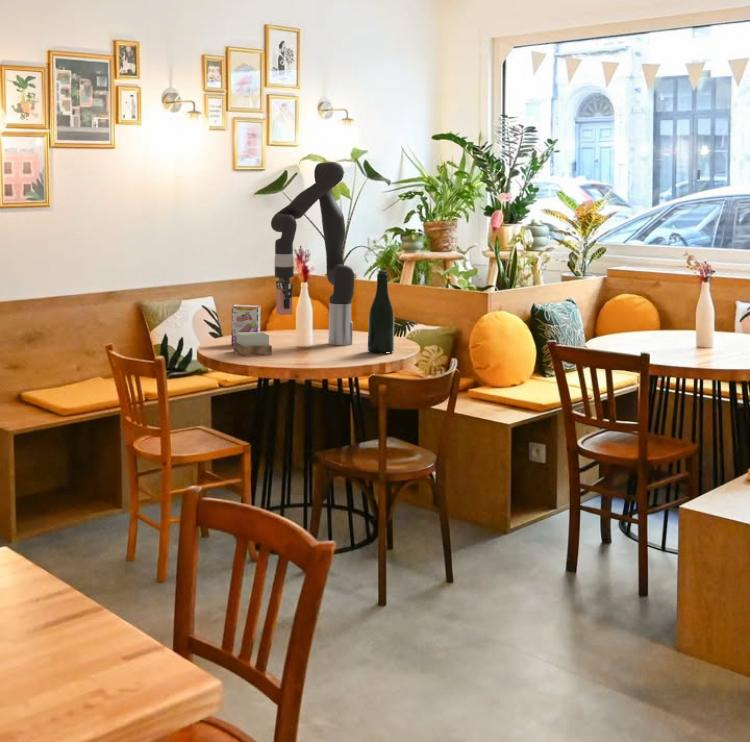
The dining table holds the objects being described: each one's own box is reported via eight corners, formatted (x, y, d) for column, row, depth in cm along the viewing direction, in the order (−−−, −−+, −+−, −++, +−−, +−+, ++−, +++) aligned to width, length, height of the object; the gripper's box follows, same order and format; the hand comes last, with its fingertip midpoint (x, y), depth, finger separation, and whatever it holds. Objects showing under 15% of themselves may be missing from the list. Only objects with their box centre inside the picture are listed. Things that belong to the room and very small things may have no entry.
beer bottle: (376, 355, 425) (379, 271, 419) (362, 351, 434) (364, 269, 428) (398, 353, 431) (401, 271, 425) (384, 349, 439) (386, 268, 434)
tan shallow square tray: (262, 351, 430) (262, 341, 430) (271, 356, 419) (271, 346, 419) (233, 352, 426) (233, 342, 425) (241, 357, 415) (241, 347, 414)
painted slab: (260, 341, 429) (260, 331, 428) (268, 345, 420) (269, 335, 419) (236, 342, 425) (236, 332, 424) (244, 346, 416) (244, 336, 415)
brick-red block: (288, 312, 432) (288, 288, 430) (292, 314, 428) (292, 289, 426) (276, 313, 430) (276, 288, 429) (280, 315, 426) (280, 289, 424)
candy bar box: (231, 345, 440) (231, 305, 437) (233, 343, 445) (233, 304, 442) (257, 346, 439) (258, 306, 436) (260, 344, 444) (260, 305, 441)
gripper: (299, 266, 421) (299, 309, 424) (287, 263, 433) (287, 305, 437) (280, 267, 418) (281, 310, 421) (269, 264, 431) (269, 306, 434)
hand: (284, 307), depth 429 cm, fingers closed on brick-red block, 5 cm apart
